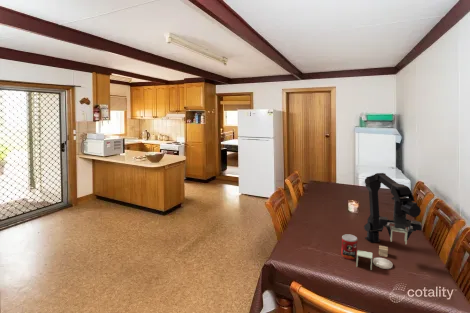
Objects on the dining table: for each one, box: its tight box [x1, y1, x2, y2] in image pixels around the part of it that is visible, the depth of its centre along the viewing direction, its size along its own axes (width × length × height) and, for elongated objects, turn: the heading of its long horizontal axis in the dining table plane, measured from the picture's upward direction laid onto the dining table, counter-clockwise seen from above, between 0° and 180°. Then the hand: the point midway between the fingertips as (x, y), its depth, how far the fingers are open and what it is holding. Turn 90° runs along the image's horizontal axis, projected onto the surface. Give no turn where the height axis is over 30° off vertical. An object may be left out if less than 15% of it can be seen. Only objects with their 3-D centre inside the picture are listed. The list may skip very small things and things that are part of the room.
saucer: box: [372, 257, 394, 270], centre depth 137 cm, size 9×9×1 cm
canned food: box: [340, 233, 358, 260], centre depth 145 cm, size 8×8×11 cm
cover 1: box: [355, 249, 373, 271], centre depth 136 cm, size 6×7×6 cm
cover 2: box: [390, 225, 408, 245], centre depth 138 cm, size 6×7×6 cm
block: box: [378, 245, 389, 258], centre depth 146 cm, size 4×4×4 cm
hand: (398, 238), depth 139 cm, fingers closed on cover 2, 7 cm apart
